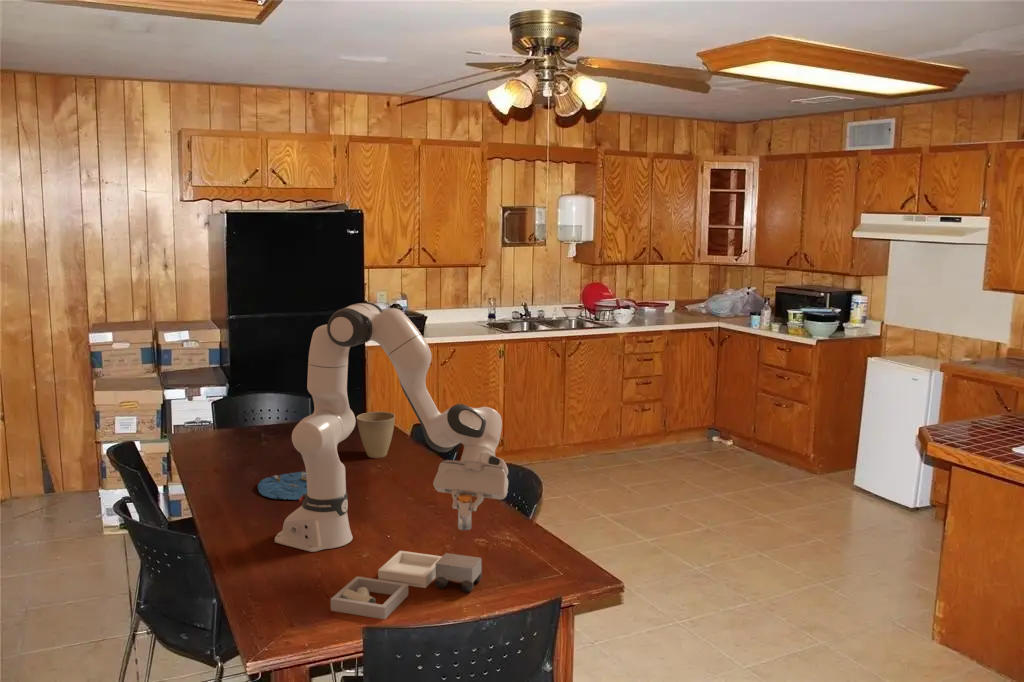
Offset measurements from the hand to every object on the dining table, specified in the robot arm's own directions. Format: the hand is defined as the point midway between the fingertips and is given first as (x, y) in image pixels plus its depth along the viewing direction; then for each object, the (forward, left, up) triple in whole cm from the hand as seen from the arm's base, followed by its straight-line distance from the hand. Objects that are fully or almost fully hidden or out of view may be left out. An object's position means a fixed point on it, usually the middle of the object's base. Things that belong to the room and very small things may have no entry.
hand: (463, 509), depth 222 cm
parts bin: (-16, -23, -18) cm, 33 cm away
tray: (-13, -5, -18) cm, 23 cm away
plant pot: (-71, +91, -18) cm, 117 cm away
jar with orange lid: (0, +1, -5) cm, 5 cm away
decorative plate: (-79, +49, -19) cm, 95 cm away
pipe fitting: (-17, -24, -18) cm, 35 cm away
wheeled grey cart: (+1, -3, -18) cm, 18 cm away
